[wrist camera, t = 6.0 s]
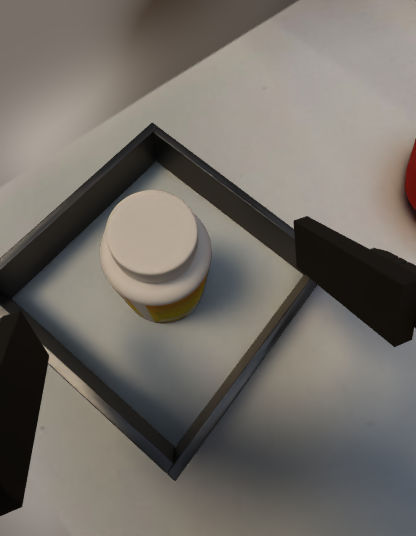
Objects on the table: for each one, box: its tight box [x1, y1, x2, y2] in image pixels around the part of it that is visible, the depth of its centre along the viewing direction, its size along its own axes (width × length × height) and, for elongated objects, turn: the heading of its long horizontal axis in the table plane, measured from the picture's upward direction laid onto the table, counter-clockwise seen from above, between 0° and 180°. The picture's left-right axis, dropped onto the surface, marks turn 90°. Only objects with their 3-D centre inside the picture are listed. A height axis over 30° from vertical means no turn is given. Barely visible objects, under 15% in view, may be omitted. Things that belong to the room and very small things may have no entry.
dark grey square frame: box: [0, 123, 317, 481], centre depth 22 cm, size 16×16×4 cm
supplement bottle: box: [100, 190, 211, 323], centre depth 18 cm, size 6×6×10 cm
